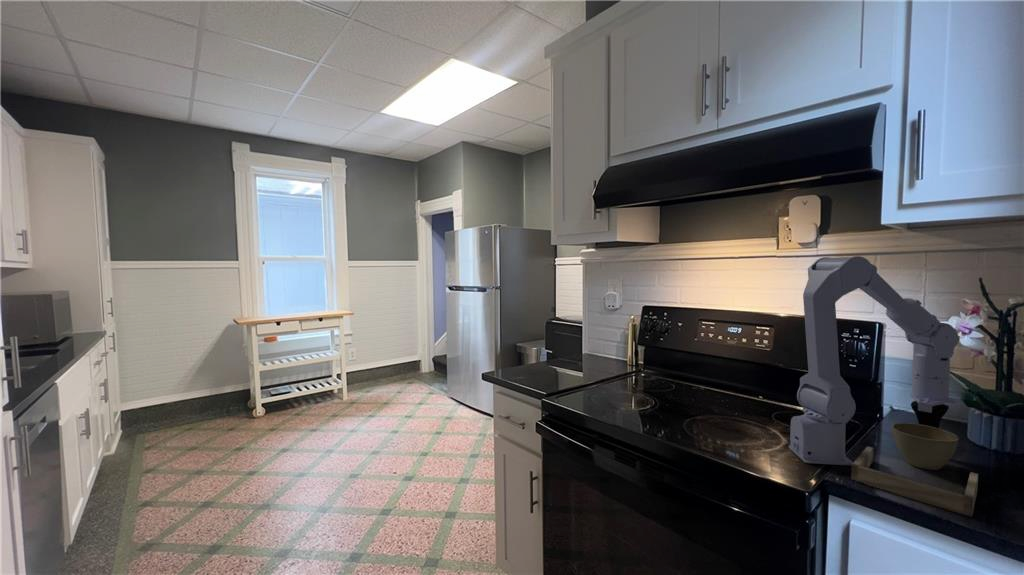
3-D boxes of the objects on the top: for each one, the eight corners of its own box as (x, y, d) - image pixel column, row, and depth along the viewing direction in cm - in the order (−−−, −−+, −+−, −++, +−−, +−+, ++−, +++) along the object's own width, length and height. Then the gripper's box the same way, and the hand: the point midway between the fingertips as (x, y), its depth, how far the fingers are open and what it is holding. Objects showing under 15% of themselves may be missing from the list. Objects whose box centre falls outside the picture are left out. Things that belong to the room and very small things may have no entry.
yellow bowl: (972, 478, 82) (973, 442, 82) (912, 474, 84) (913, 439, 84) (932, 455, 92) (933, 423, 91) (879, 452, 94) (880, 421, 93)
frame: (972, 517, 70) (972, 499, 69) (851, 480, 82) (851, 465, 82) (977, 489, 78) (978, 473, 78) (867, 459, 90) (867, 446, 90)
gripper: (953, 386, 84) (951, 452, 85) (960, 373, 93) (958, 432, 94) (905, 379, 89) (903, 441, 90) (916, 367, 99) (915, 424, 99)
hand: (928, 436), depth 92 cm, fingers closed
